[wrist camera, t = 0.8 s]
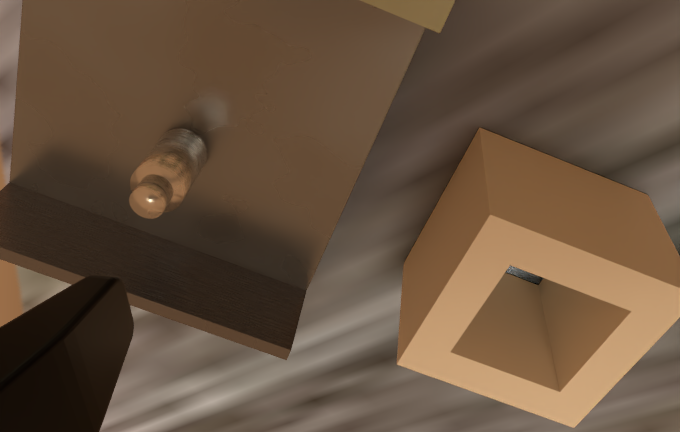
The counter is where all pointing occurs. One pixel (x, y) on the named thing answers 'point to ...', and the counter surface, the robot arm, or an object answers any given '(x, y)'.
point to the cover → (418, 11)
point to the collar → (528, 298)
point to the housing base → (225, 90)
